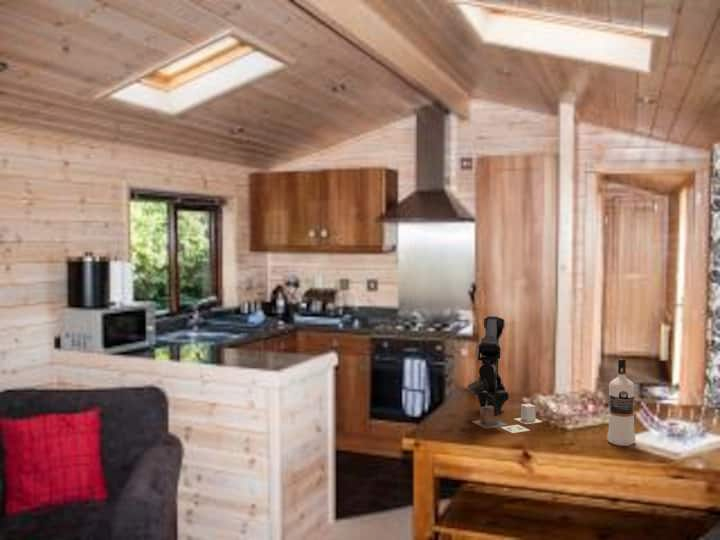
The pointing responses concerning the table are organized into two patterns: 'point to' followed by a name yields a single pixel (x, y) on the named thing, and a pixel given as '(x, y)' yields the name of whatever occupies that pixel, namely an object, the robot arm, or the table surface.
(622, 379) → the vodka
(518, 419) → the code tile
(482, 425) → the slate coaster
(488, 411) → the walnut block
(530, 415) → the beige block
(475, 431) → the table surface
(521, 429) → the cream glyph tile
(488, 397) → the robot arm
